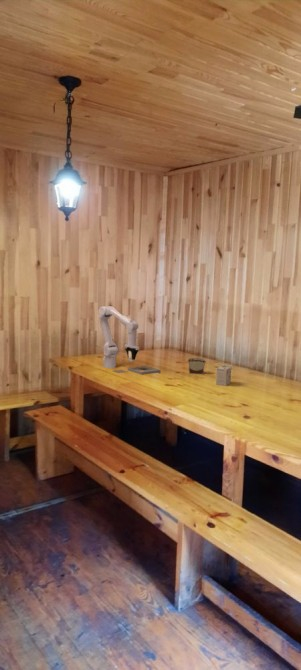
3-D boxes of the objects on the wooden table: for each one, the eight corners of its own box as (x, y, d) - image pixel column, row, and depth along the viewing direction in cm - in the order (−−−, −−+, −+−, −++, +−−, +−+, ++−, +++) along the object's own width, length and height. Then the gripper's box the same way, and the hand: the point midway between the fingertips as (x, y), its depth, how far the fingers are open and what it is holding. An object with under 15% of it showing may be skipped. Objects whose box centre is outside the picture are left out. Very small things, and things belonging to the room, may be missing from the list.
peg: (127, 360, 332) (127, 350, 331) (132, 360, 334) (132, 350, 333) (130, 361, 328) (130, 351, 327) (135, 361, 331) (135, 351, 330)
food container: (205, 372, 342) (205, 358, 341) (205, 374, 336) (205, 360, 335) (187, 371, 343) (188, 357, 342) (187, 373, 337) (187, 359, 336)
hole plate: (127, 371, 336) (127, 367, 335) (146, 369, 345) (146, 365, 345) (141, 376, 323) (141, 372, 323) (160, 373, 333) (160, 369, 333)
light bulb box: (220, 381, 316) (221, 365, 314) (231, 382, 313) (232, 366, 311) (215, 384, 306) (216, 367, 305) (226, 386, 303) (226, 369, 302)
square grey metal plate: (111, 372, 331) (111, 370, 331) (121, 371, 336) (121, 369, 336) (118, 374, 325) (118, 373, 325) (128, 373, 330) (128, 371, 330)
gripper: (121, 338, 333) (120, 357, 334) (133, 341, 321) (132, 361, 323) (129, 337, 337) (129, 357, 339) (142, 340, 325) (141, 360, 327)
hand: (131, 359), depth 331 cm, fingers closed on peg, 4 cm apart
